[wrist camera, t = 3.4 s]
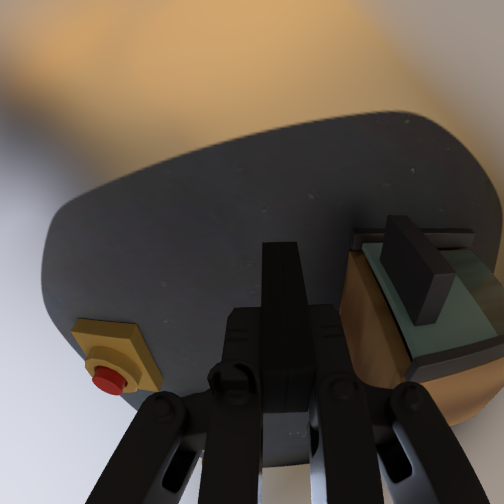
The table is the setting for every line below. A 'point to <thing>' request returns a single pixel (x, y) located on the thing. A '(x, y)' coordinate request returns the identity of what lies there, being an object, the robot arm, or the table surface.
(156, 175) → the table surface
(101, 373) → the button
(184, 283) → the table surface
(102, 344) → the button housing
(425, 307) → the sliding door
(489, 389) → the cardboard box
